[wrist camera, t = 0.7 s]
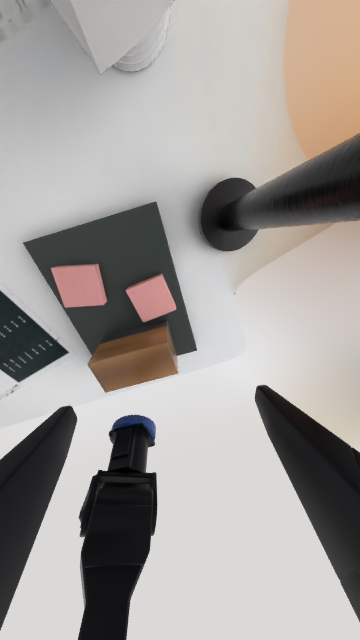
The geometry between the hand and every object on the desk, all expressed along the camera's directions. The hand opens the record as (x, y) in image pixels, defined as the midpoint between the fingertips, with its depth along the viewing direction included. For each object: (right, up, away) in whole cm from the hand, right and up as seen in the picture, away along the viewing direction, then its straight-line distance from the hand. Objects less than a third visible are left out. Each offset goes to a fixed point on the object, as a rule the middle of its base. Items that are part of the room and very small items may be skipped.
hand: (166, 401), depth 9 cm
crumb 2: (-2, +7, +11) cm, 13 cm away
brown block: (-4, +1, +13) cm, 14 cm away
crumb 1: (-9, +8, +10) cm, 16 cm away
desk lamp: (+5, +14, +9) cm, 18 cm away
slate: (-6, +6, +12) cm, 15 cm away
